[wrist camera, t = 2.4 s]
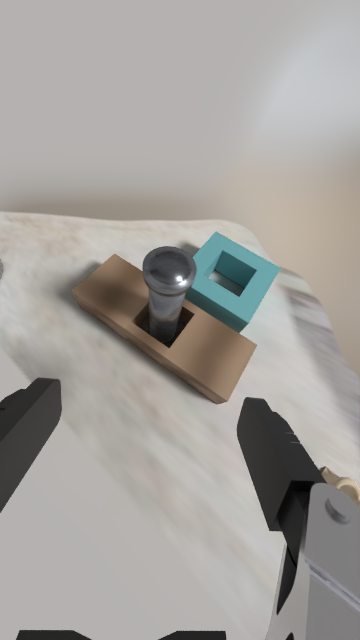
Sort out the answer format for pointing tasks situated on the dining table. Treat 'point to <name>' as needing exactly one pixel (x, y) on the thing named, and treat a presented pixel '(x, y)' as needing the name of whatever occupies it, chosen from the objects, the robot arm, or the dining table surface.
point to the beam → (191, 345)
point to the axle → (167, 288)
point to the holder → (236, 267)
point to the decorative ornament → (343, 484)
